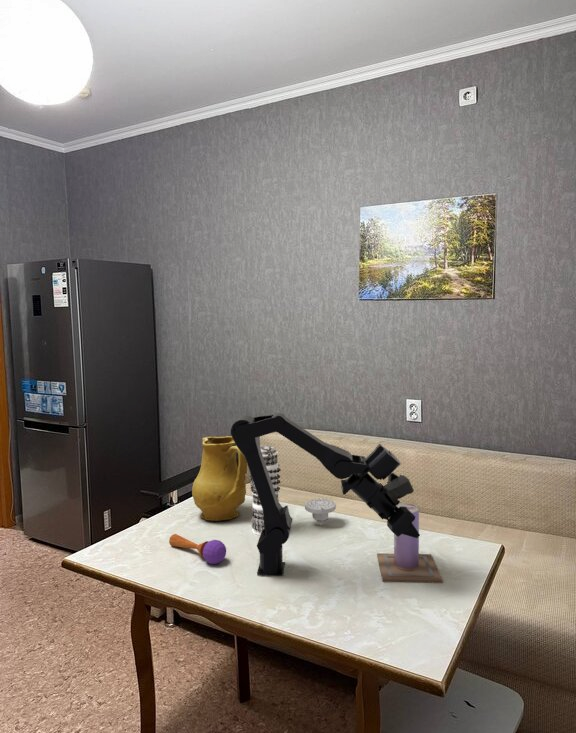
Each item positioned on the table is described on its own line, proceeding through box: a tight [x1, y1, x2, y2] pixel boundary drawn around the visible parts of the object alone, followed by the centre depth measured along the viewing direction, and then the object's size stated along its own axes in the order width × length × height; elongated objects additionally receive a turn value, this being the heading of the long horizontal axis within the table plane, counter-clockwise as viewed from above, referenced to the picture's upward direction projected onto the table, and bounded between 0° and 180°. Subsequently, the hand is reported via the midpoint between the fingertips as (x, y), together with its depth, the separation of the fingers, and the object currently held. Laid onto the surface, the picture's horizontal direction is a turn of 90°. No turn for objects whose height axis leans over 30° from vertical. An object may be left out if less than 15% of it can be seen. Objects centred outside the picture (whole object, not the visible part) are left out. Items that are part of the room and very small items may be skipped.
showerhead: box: [304, 497, 337, 526], centre depth 162 cm, size 9×7×10 cm
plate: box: [376, 552, 444, 584], centre depth 133 cm, size 14×14×1 cm
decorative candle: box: [249, 445, 281, 536], centre depth 157 cm, size 9×9×25 cm
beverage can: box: [393, 503, 420, 571], centre depth 132 cm, size 6×6×15 cm
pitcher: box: [191, 435, 248, 522], centre depth 169 cm, size 17×19×25 cm
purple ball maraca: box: [168, 533, 227, 565], centre depth 143 cm, size 6×6×20 cm
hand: (413, 531), depth 132 cm, fingers open, 6 cm apart
